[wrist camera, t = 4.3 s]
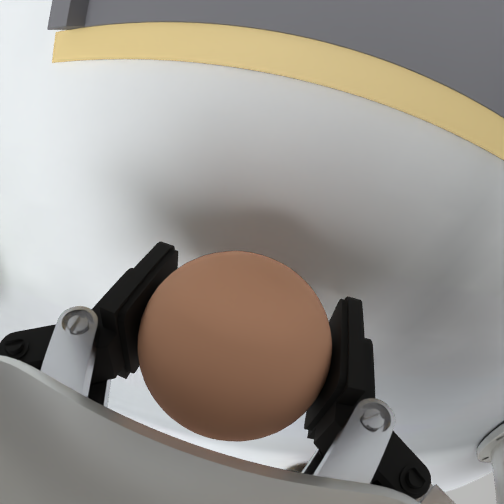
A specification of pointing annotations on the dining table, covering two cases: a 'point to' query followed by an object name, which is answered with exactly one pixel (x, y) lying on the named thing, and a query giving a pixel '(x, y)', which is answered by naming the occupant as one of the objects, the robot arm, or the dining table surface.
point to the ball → (234, 346)
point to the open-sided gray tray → (319, 48)
